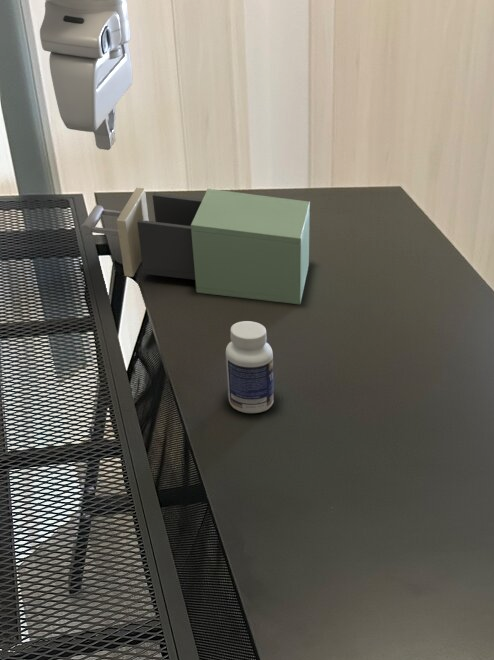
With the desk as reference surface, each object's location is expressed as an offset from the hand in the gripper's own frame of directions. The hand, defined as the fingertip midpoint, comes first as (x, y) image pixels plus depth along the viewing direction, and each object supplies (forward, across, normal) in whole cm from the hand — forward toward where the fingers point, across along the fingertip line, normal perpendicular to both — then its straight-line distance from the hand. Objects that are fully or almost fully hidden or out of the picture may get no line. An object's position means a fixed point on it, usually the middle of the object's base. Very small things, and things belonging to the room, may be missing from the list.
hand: (106, 145), depth 109 cm
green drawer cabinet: (+17, -3, +18) cm, 25 cm away
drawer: (+16, -3, +5) cm, 17 cm away
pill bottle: (+17, +29, +22) cm, 40 cm away
